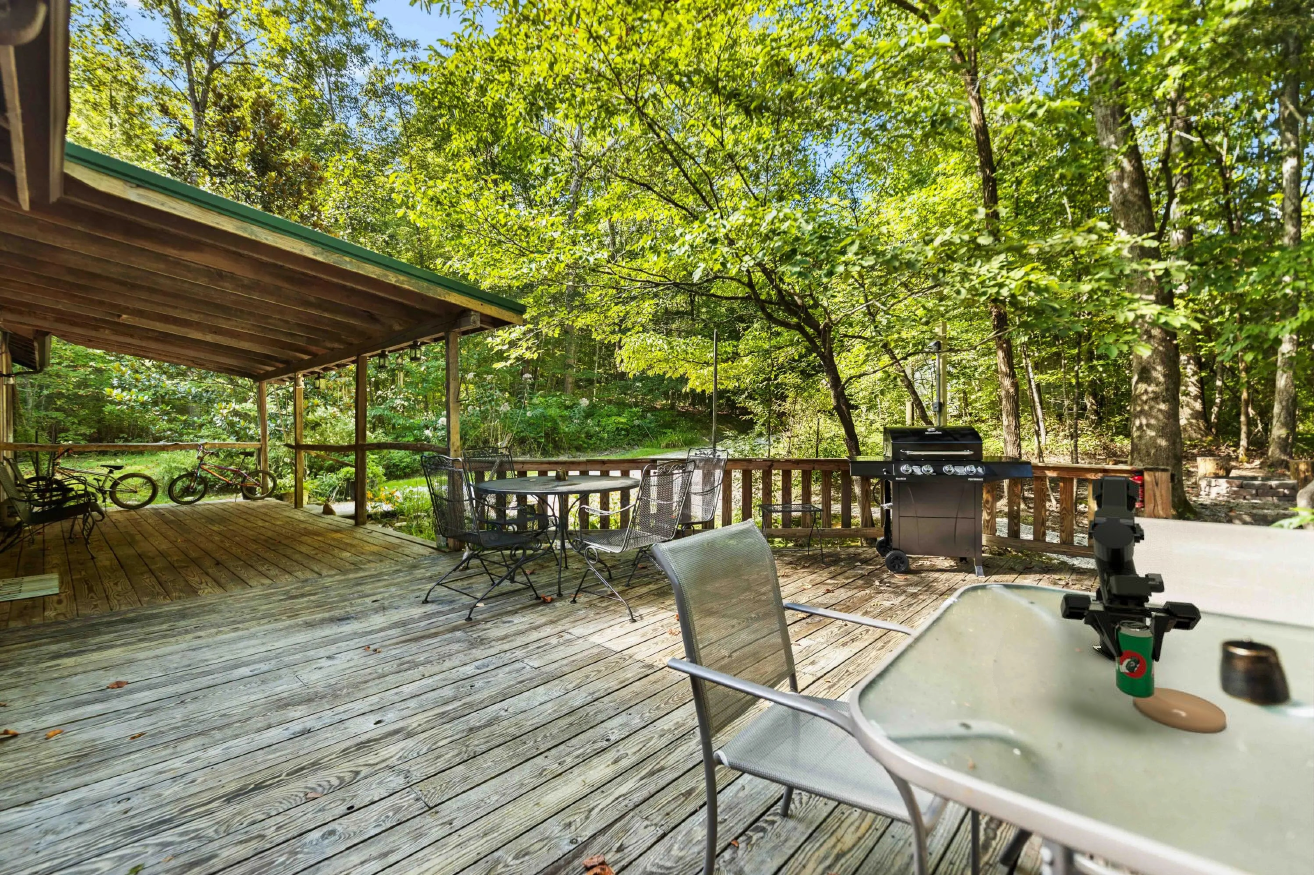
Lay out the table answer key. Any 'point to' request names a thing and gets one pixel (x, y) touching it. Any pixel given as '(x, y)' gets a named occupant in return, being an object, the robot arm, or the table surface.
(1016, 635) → the table surface
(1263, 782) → the table surface
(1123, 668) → the soda can
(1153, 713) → the terracotta plate
